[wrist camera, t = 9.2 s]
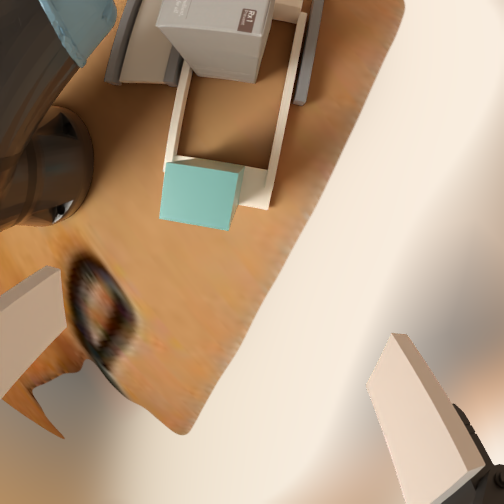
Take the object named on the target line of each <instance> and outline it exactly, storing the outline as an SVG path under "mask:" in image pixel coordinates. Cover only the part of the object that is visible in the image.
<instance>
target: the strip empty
mask: <svg viewBox="0 0 504 504" xmlns="http://www.w3.org/2000/svg"><path fill="white" fill-rule="evenodd" d="M162 2H163V0H142V3H141V6H140V9H139V12H138V15H137V18H136V21H135V24H134V27H133V30H132V33H131V37H130V40H129V44H128V47H127V51H126V55H125V59H124V63H123V67H122V71H121V75H120V79H119V81H120V82H123V83H154V84H166V83H164V82H163V81H164V77H165V72H166V68H167V64H168V60H169V56H170V52H171V48H172V44H171V42H170V41H169V40H168V39H167V38H166V37H165V35H164V34H163V33H162V32H161V31H160V29H159V28H158V27H156V26H155V25H156V22H157V18H158V14H159V11H160V8H161V5H162Z"/></svg>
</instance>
